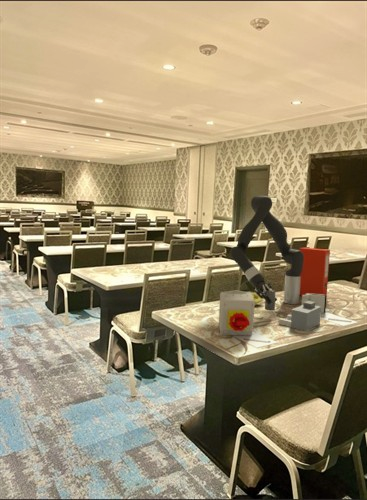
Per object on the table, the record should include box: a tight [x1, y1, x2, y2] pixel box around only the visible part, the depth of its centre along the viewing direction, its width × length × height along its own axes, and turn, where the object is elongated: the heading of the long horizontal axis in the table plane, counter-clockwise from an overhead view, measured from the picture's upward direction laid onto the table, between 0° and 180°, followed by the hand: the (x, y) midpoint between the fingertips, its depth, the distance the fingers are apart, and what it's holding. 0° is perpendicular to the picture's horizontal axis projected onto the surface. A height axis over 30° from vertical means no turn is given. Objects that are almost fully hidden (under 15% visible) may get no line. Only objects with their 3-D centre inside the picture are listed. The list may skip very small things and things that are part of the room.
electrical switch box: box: [218, 289, 255, 336], centre depth 168 cm, size 15×15×20 cm
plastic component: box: [251, 291, 264, 307], centre depth 221 cm, size 20×7×10 cm
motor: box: [278, 301, 322, 332], centre depth 187 cm, size 20×15×11 cm
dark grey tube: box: [264, 289, 276, 311], centre depth 195 cm, size 5×5×11 cm
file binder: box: [299, 247, 331, 297], centre depth 243 cm, size 8×17×32 cm, turn 48°
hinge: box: [301, 293, 328, 314], centre depth 208 cm, size 14×5×10 cm, turn 87°
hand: (273, 302), depth 194 cm, fingers closed on dark grey tube, 5 cm apart
